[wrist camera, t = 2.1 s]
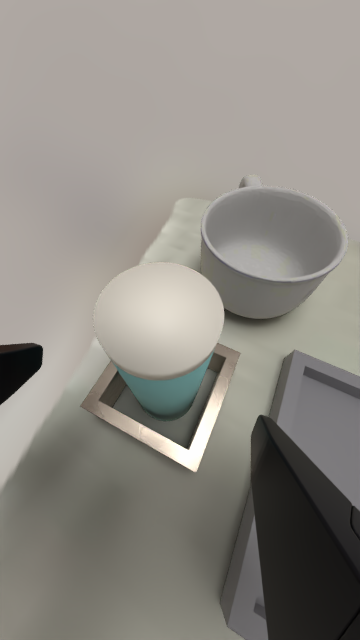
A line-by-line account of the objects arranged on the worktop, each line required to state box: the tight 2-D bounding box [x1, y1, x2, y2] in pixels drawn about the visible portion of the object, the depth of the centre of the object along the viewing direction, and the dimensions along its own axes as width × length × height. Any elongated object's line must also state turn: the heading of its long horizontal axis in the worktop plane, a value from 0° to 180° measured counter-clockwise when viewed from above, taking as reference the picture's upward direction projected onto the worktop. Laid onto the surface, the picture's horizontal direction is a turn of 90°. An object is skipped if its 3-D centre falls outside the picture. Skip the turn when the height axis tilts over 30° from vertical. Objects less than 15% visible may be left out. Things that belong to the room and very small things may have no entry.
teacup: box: [201, 175, 348, 319], centre depth 21 cm, size 14×11×8 cm
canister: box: [93, 262, 224, 421], centre depth 13 cm, size 5×5×12 cm
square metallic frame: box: [80, 343, 240, 472], centre depth 17 cm, size 8×8×4 cm
